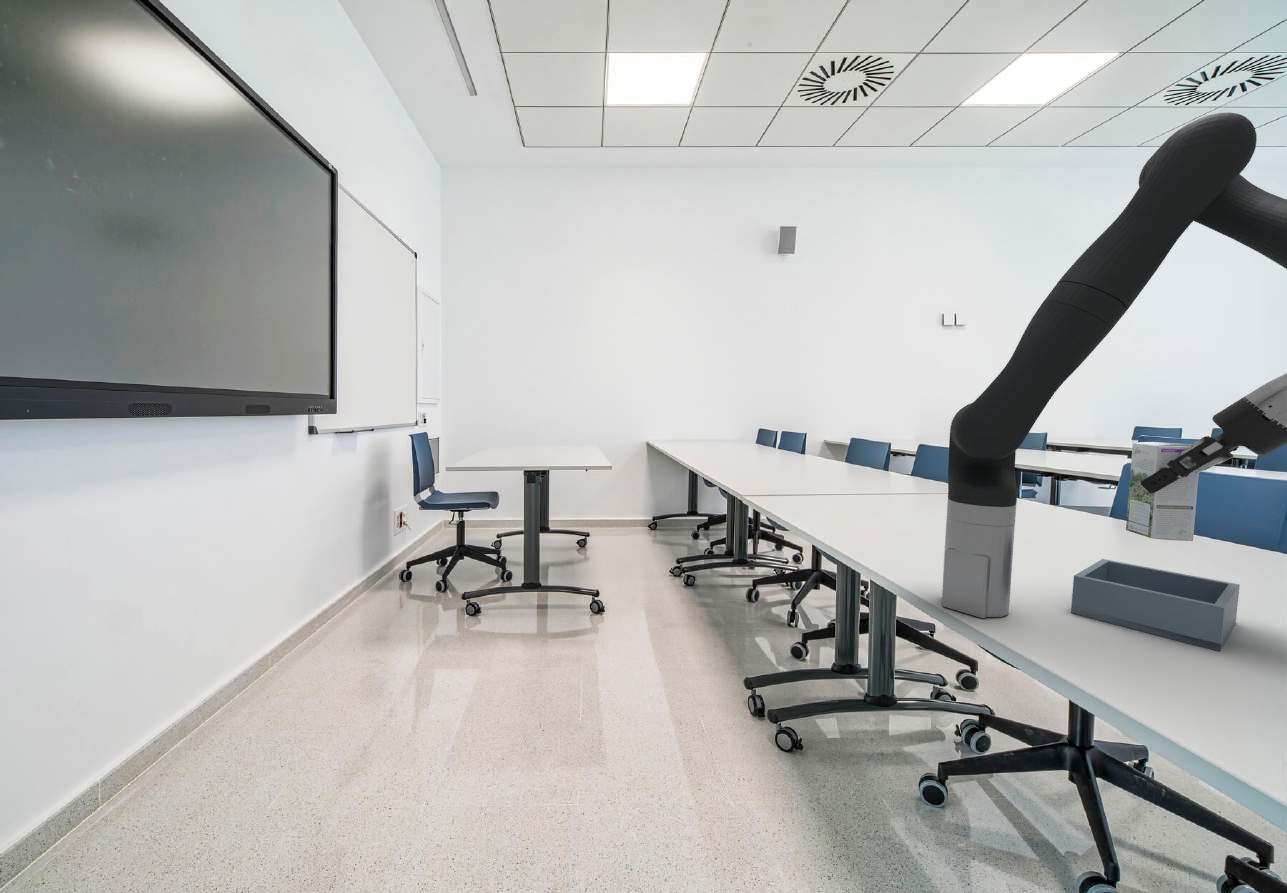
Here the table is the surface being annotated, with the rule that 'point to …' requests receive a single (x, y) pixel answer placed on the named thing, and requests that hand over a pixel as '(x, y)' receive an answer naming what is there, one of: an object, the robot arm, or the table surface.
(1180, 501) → the syrup box
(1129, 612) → the tote
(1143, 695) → the table surface
